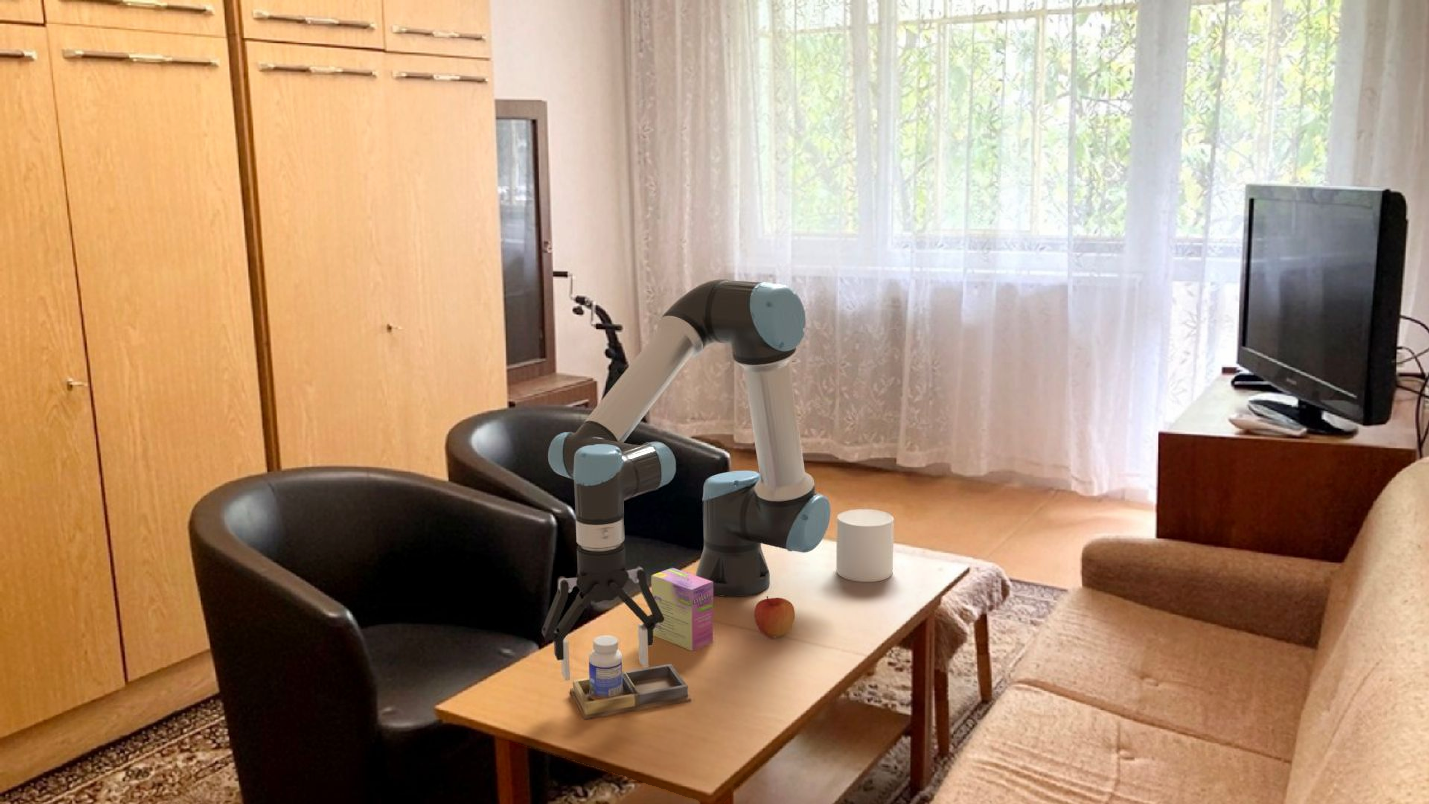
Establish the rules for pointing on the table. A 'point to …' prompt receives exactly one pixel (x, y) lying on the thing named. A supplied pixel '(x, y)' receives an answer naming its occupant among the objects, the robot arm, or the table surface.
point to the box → (684, 608)
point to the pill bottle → (605, 668)
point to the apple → (774, 617)
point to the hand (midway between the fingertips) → (605, 670)
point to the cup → (865, 545)
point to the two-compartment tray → (634, 692)
